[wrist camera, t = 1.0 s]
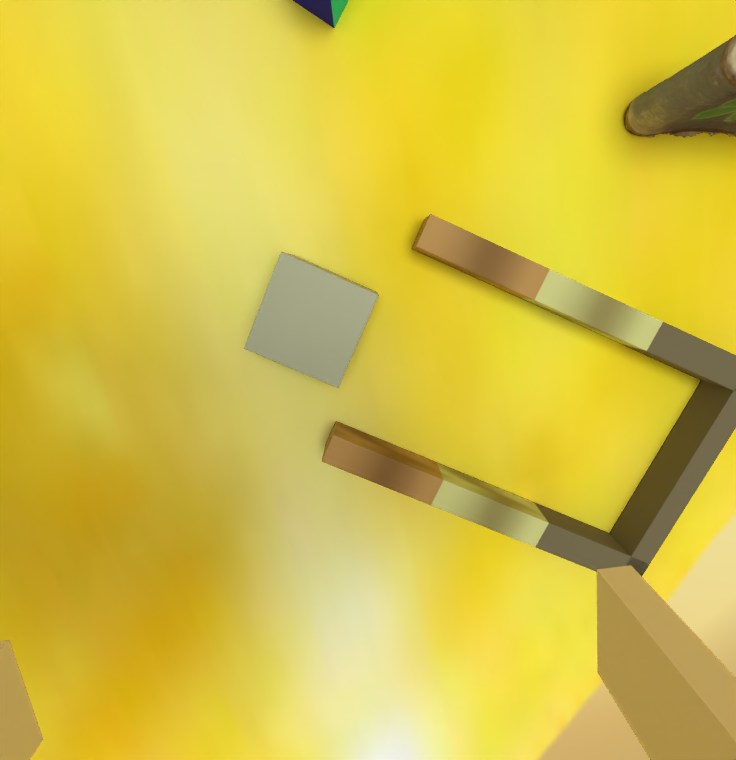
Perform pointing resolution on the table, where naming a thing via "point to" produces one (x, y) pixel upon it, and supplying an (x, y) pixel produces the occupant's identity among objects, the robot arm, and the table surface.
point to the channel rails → (526, 283)
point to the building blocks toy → (325, 9)
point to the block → (310, 319)
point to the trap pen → (660, 463)
